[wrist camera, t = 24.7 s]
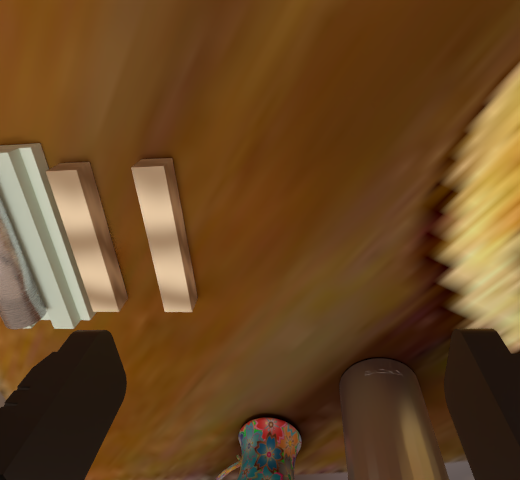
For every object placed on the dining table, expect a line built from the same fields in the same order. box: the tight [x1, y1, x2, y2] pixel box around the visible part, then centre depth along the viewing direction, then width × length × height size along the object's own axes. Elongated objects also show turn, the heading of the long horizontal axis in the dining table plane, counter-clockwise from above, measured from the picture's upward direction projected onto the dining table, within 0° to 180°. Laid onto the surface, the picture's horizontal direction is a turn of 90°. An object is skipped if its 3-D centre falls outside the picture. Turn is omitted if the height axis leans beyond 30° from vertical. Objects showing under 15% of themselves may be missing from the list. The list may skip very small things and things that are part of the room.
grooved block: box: [0, 143, 96, 329], centre depth 41 cm, size 20×10×3 cm, turn 4°
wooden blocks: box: [46, 158, 198, 312], centre depth 40 cm, size 16×11×2 cm
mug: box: [215, 418, 302, 480], centre depth 50 cm, size 12×9×11 cm
